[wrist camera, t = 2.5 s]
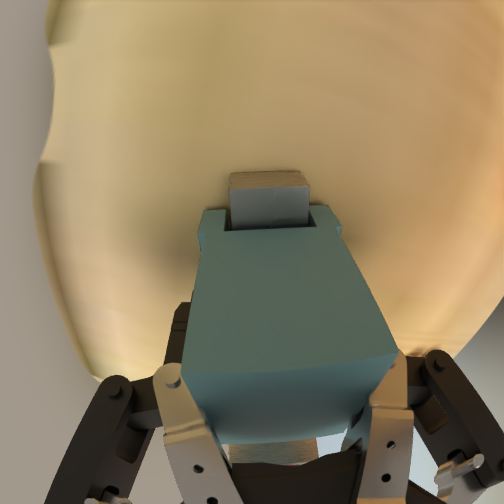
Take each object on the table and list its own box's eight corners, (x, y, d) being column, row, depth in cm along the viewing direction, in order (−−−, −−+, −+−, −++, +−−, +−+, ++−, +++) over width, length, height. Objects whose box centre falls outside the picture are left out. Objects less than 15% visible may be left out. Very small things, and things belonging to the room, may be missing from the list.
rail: (192, 176, 11) (131, 312, 5) (331, 170, 11) (432, 290, 5) (232, 396, 23) (233, 475, 16) (298, 392, 23) (309, 469, 16)
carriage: (203, 210, 12) (166, 372, 5) (327, 205, 12) (409, 349, 5) (218, 307, 15) (211, 443, 9) (315, 300, 15) (349, 431, 9)
